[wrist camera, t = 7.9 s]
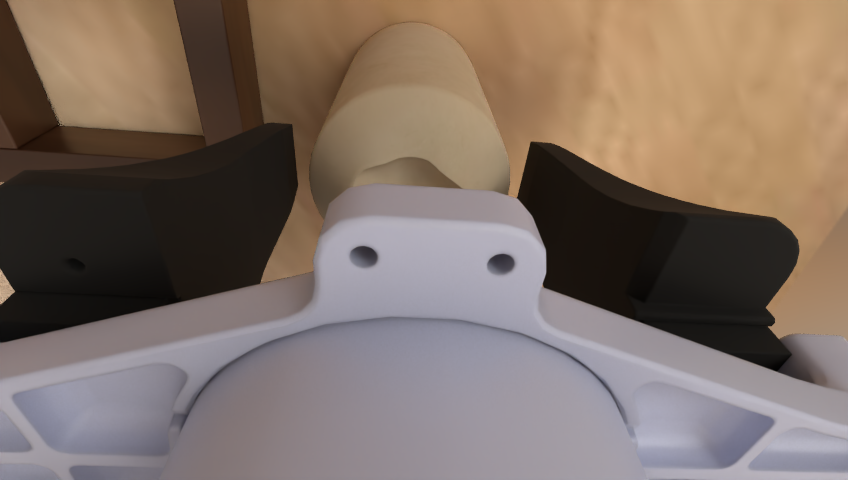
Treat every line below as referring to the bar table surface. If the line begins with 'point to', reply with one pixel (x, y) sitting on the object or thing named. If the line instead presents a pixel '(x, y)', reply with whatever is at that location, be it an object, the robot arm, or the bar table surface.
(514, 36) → the bar table surface
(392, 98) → the candle
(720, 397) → the robot arm
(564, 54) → the bar table surface
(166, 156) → the holder
